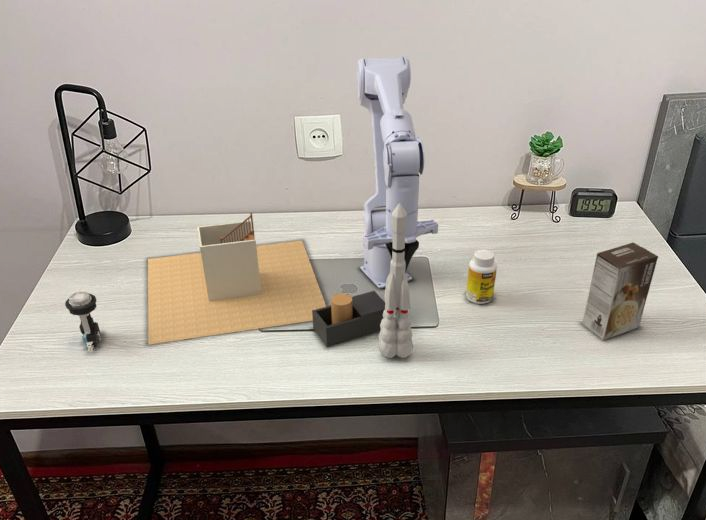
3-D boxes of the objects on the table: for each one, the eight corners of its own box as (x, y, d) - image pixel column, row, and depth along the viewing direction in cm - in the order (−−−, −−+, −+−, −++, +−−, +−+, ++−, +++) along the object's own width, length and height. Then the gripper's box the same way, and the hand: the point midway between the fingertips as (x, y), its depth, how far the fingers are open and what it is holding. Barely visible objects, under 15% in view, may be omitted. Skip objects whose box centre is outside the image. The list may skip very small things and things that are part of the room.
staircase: (262, 294, 145) (254, 221, 135) (209, 301, 143) (196, 228, 133) (257, 272, 152) (249, 202, 141) (206, 279, 149) (194, 208, 139)
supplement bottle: (477, 308, 141) (482, 264, 134) (460, 295, 144) (464, 252, 138) (498, 299, 143) (504, 256, 137) (480, 287, 147) (485, 244, 141)
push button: (105, 351, 129) (92, 307, 123) (75, 355, 128) (60, 310, 122) (108, 331, 134) (96, 287, 128) (79, 334, 134) (65, 290, 128)
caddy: (313, 329, 135) (311, 307, 132) (374, 311, 140) (374, 290, 137) (327, 347, 130) (325, 325, 127) (389, 328, 135) (390, 307, 132)
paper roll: (348, 321, 136) (329, 326, 135) (347, 291, 132) (327, 296, 131) (356, 332, 133) (336, 337, 132) (355, 302, 129) (335, 307, 128)
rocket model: (397, 370, 125) (401, 218, 107) (367, 352, 129) (366, 204, 111) (423, 351, 129) (432, 202, 111) (393, 335, 133) (397, 189, 115)
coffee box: (616, 311, 140) (634, 240, 130) (639, 328, 135) (660, 256, 125) (580, 324, 136) (596, 252, 126) (603, 341, 132) (621, 268, 122)
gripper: (375, 225, 119) (375, 292, 127) (448, 208, 124) (443, 274, 132) (357, 208, 124) (358, 274, 132) (428, 193, 129) (425, 257, 137)
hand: (400, 273), depth 133 cm, fingers closed
